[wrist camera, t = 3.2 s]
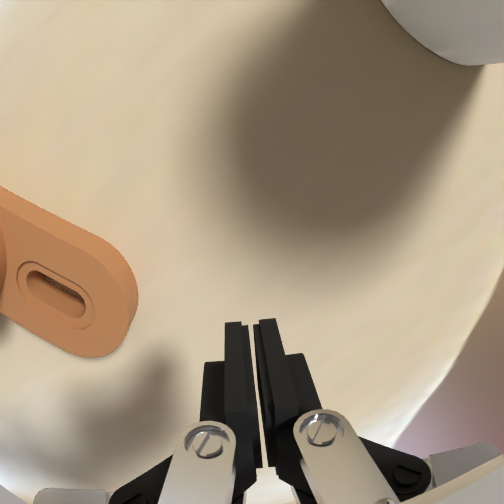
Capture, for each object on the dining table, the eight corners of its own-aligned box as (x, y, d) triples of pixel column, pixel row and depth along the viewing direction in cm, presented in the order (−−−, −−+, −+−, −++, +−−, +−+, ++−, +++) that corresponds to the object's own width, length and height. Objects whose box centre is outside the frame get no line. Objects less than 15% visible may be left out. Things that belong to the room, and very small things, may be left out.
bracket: (-39, 257, 17) (-86, 289, 11) (-30, 168, 15) (-89, 184, 8) (123, 350, 21) (97, 416, 15) (155, 261, 19) (124, 318, 12)
